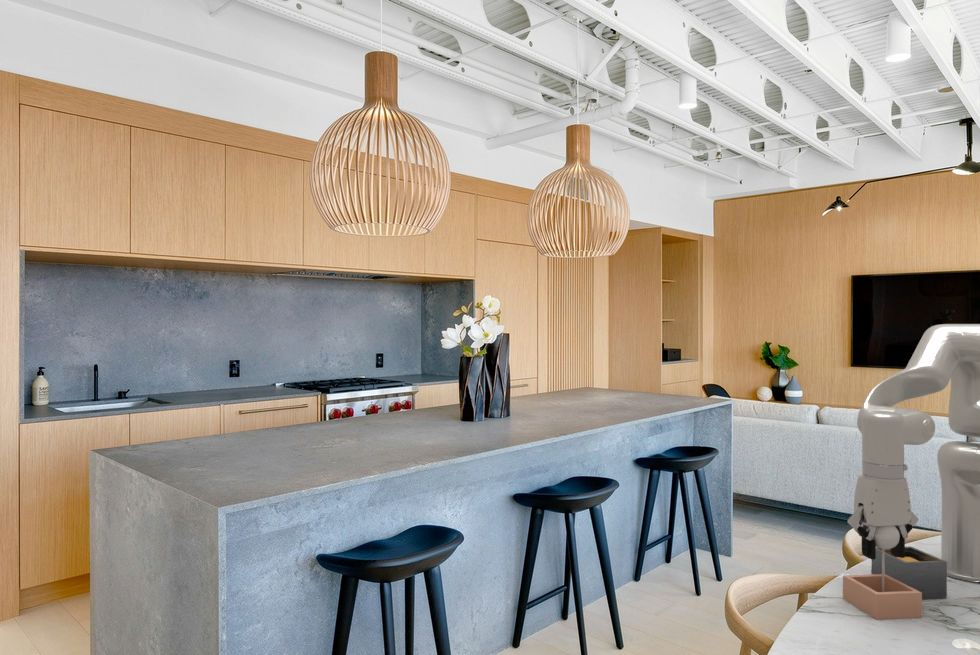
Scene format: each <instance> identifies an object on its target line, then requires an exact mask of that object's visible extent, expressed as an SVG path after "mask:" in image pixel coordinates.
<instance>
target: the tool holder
mask: <svg viewBox="0 0 980 655" xmlns="http://www.w3.org/2000/svg"><path fill="white" fill-rule="evenodd" d="M842 600H844V601H846V602H847V603H849V604H851V605H852V606H854V607H855V608H857V609H859V610H860V611H861V612H864V613H865V614H866V615H868V616H870V617H872V618H873V619H874V620H895V619H919V618H922V617H923V614H922V613H923V607H922V606H923V600H922V592H920V591H918V590H916V589H914V588H912V587H910V586H908V585H906V584H904V583H902V582H900V581H898V580H896V579H894V578H892V577H890V576H888V575H886V574H885V592H882V574H873V575H871V574H850V575H848V574H847V575H844V574H843V575H842Z"/></svg>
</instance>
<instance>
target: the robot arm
mask: <svg viewBox="0 0 980 655" xmlns="http://www.w3.org/2000/svg"><path fill="white" fill-rule="evenodd" d="M922 334H923V335H922V337H921V339H920V340H919V342H918V344H917V345H916V348H915V350H914V352H913V353H912V356H911V357H910V359H909V360H908V363H907V365H906V367H905V368H904V369H902V370H900V371H898V372H896V373H894V374H892V375H890V376H889V377H887V378H885V379H883V380H882V381H880V382H878V383H877V384H876V385H875V386H874V387H873V388H872V389H871V390H870V391H869V392H868V393H867V395H866V397H865V398H864V401H863V403H862V404H861V407H860V409H859V411H858V414H857V419H856V424H857V425H856V426H857V429H858V431H859V432H860V434H861V449H862V450H861V459H862V461H861V464H862V465H861V474H860V475H858V476H857V480H856V484H855V489H854V498H853V513H852V514H851V515H850V517H849V518H848V519H847V523H848V525H849V526H850V527H851V528H853V529H854V531H855V532H856V533H857V534H858V536H859V537H861V554H862V555H863V557H866V558H868V559H870V560H871V561H872V560H874V559H875V558H876V542H875V541H874V540H872V539H873V536H874V534H875V531H876V528H877V527H884V526H895V527H896V528H897V529H898V531H899V534H900V540H899V543H898V544H897V545H896V546H895V547H893V548H891V553H892V554H894V555H896V556H898V557H900V558H904V557H905V547H906V545H905V544H906V539H907V538H908V537H909V533H910V532H911V531H912V530H913V527H914V526H915V525H916V524H917V523H918V522H919V517H918V516H916V514H914V512H913V511H912V508H911V507H912V506H911V495H910V490H909V489H910V488H909V484H908V480H907V478H906V477H905V472H906V471H907V470H908V465H907V464H905V445H909V446H921V445H925V444H926V443H928V442H930V440H932V438H933V437H934V435H935V432H936V423H935V421H934V419H933V417H932V416H931V415H930V414H929V413H927V412H925V411H922V410H921V409H920V410H919V409H915V408H913V409H912V408H905V407H904V408H903V407H897V406H896V407H895V405H896V404H899V403H902V402H904V401H907V400H908V401H909V400H910V399H916V398H921V397H925V396H928V395H932V394H933V395H934V394H936V393H938V392H941V391H943V390H945V389H946V387H948V384H949V383H950V392H949V405H948V416H947V417H948V426H949V427H950V430H951V431H952V432H953V433H955V434H958V435H960V436H965V437H966V436H967V437H971V438H978V439H979V438H980V323H942V324H935V325H931V326H930V327H928V328H927V329H926V330H925V331H924V333H922ZM936 460H937V465H938V466H937V467H938V470H939V471H938V472H939V475H940V476H939V477H940V485H941V528H940V530H941V533H940V534H941V537H940V538H941V542H940V543H941V546H940V550H941V553H940V559H942V560H944V561H946V562H947V577H949V576H950V577H949V578H953V579H956V578H957V579H956V580H960V579H962V580H961V581H965V580H968V581H967V582H970V581H979V582H980V443H979V442H971V441H961V440H956V441H955V440H953V441H948V442H945V443H943V444H942V445H941V446H940V447H939V449H938V451H937V459H936ZM860 522H861V524H860ZM868 527H869V529H868ZM867 529H868V532H867Z"/></svg>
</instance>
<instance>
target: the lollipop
mask: <svg viewBox="0 0 980 655" xmlns="http://www.w3.org/2000/svg"><path fill="white" fill-rule="evenodd" d="M868 529H869V527H868ZM868 529H867V532H868ZM872 540H874V541H875V542H876V547H878V548H880V549H882V592H885V556H884V549H891V548H893V547H895V546H896V545H897V544H898V543H899V540H900V534H899V531H898V529H897V528H896V527H895V526H884V527H877V528H876V531H875V534H874V536H873V539H872Z"/></svg>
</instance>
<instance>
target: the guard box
mask: <svg viewBox="0 0 980 655" xmlns="http://www.w3.org/2000/svg"><path fill="white" fill-rule="evenodd" d="M884 556H885V574H886V575H888V576H890V577H892V578H894V579H896V580H898V581H900V582H902V583H904V584H906V585H908V586H910V587H912V588H914V589H916V590H918V591H920V592H922V601H923V600H926V601H927V600H944V599H945V600H946V599H947V598H948V596H947V595H948V593H947V592H948V584H947V582H948V576H947V562H946V561H944V560H942V559H941V558H939V557H937V556H934V555H933V554H930V553H928V552H925V551H924V550H921V549H918V548H915V547H913V546H905V557H911V558H913V559H916V560H918V561H915V562H905V561H903V560H901V559H898V558H896V557H898V556H896V555H894V554H892V553H891V549H884ZM873 574H882V549H880V548H878V547H876V558H875V559H874V560H872V559H871V574H870V575H873Z"/></svg>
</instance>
